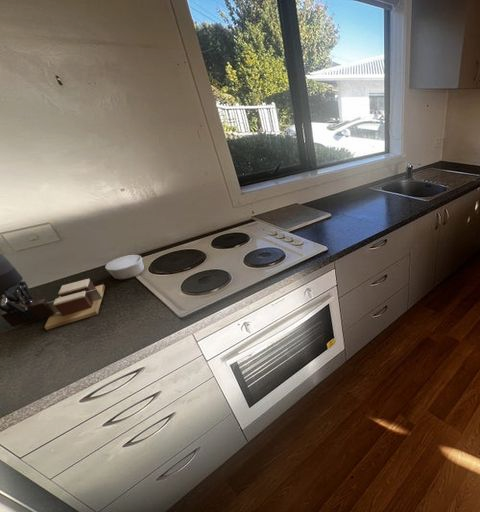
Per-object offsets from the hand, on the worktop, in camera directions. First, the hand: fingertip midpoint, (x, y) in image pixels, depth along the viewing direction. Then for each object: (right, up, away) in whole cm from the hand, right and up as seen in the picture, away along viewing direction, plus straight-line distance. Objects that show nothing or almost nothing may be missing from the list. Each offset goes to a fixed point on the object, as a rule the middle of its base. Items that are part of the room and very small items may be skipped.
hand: (32, 317), depth 90 cm
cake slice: (+10, +2, +4) cm, 11 cm away
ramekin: (+9, +12, +24) cm, 29 cm away
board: (+6, +2, +7) cm, 10 cm away
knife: (+5, +1, +3) cm, 6 cm away
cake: (+5, +5, +10) cm, 12 cm away
